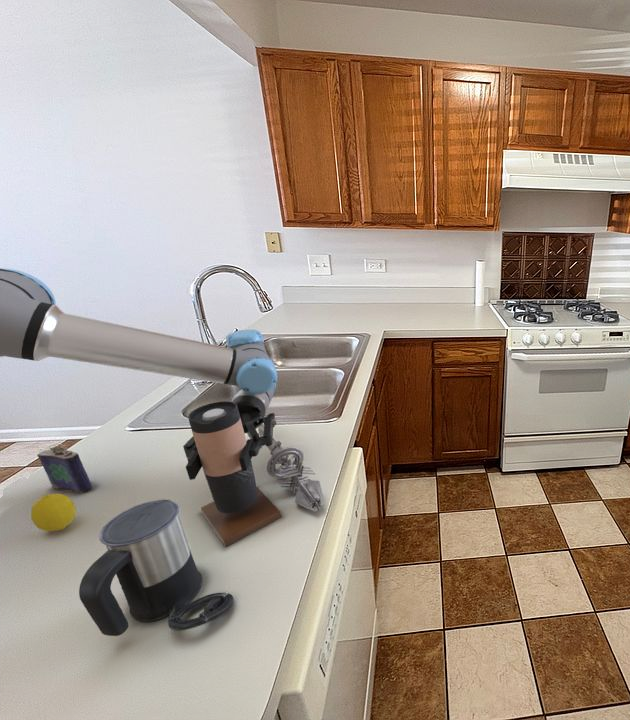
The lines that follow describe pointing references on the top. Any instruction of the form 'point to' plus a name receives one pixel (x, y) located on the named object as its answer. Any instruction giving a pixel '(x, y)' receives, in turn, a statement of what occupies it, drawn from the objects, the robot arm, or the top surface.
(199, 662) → the top surface
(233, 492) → the travel mug
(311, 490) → the spaceship
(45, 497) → the lemon
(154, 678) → the top surface
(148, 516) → the milk frother
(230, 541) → the serving board
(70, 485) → the flask
